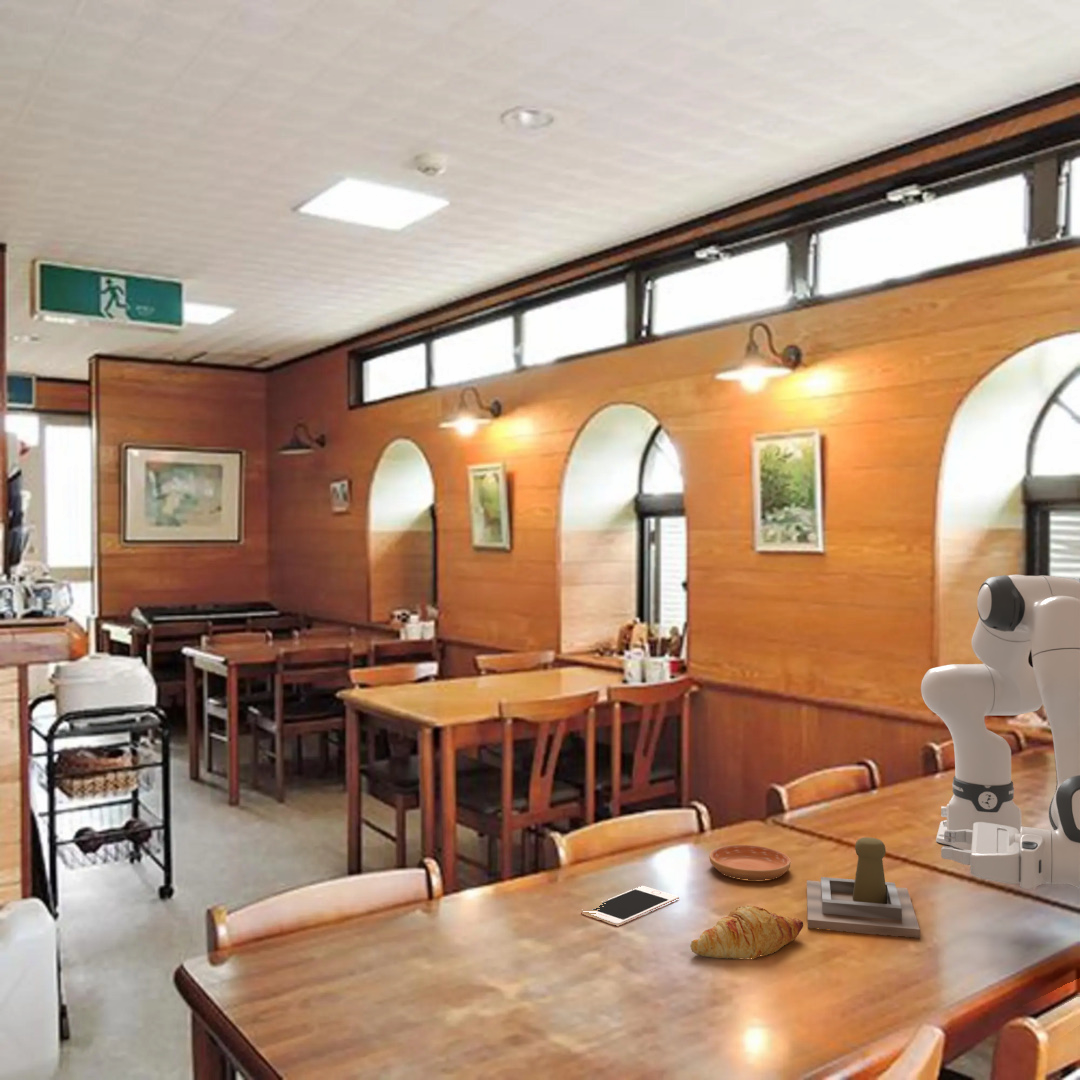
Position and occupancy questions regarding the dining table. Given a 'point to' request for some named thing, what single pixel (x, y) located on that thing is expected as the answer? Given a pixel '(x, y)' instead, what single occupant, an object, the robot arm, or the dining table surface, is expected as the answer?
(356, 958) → the dining table surface
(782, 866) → the saucer
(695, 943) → the croissant
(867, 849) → the olive pepper mill
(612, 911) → the cell phone
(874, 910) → the square frame holder
